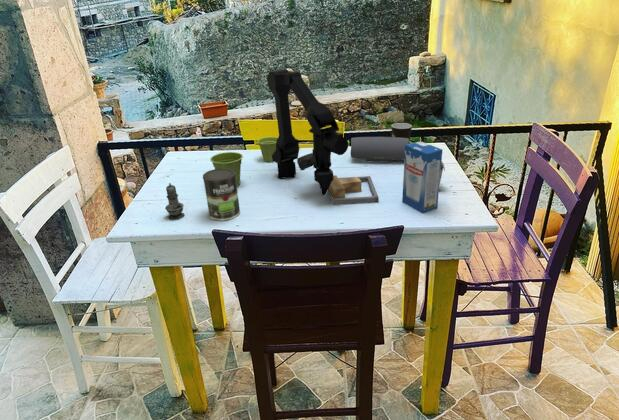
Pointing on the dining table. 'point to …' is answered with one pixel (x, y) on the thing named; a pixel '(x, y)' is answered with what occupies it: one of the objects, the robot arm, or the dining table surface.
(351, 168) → the dining table surface
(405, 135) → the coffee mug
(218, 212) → the coffee can
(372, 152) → the bluetooth speaker
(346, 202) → the fence pocket
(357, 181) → the t block
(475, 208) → the dining table surface
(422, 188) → the milk carton
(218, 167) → the plant pot
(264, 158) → the plant pot
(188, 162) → the dining table surface
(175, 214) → the grey tall tiered piece
